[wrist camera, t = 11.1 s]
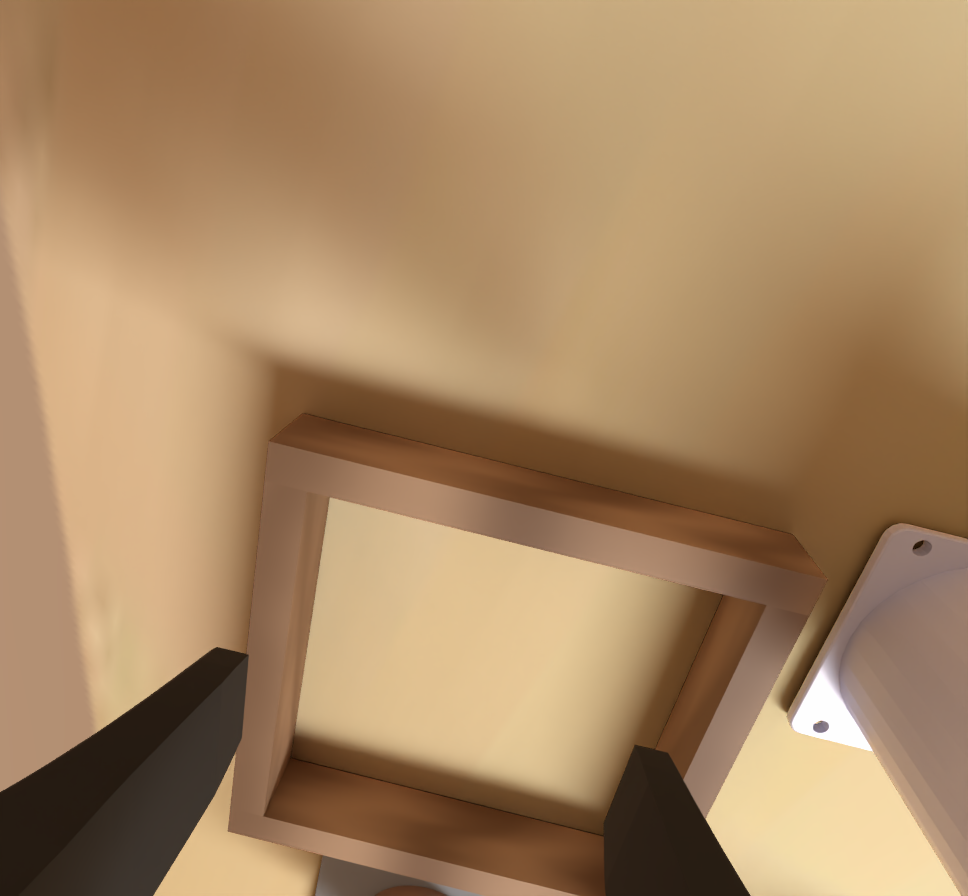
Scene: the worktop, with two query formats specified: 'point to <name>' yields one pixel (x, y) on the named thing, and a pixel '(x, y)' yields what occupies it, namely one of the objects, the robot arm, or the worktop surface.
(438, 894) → the terracotta pot
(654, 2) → the worktop surface
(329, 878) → the slate mat
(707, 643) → the frame
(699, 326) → the worktop surface
